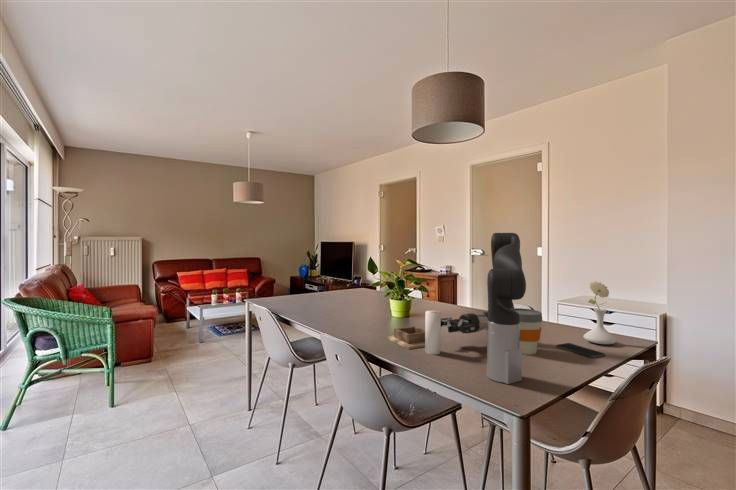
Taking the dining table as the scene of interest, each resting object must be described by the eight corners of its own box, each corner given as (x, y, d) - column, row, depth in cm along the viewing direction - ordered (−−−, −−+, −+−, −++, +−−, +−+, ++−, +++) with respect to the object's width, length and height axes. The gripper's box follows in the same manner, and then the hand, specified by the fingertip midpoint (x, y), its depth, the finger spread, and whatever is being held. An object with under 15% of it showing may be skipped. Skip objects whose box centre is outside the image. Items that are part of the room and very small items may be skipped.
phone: (591, 356, 129) (555, 344, 142) (591, 359, 129) (555, 347, 143) (606, 354, 132) (569, 342, 146) (606, 357, 132) (569, 345, 146)
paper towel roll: (443, 353, 133) (443, 312, 133) (431, 355, 131) (431, 314, 130) (434, 349, 138) (434, 309, 138) (422, 351, 136) (422, 311, 135)
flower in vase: (623, 347, 143) (624, 284, 142) (593, 346, 143) (595, 283, 143) (602, 337, 156) (603, 280, 155) (575, 337, 156) (576, 279, 156)
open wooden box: (437, 344, 144) (437, 333, 144) (408, 349, 138) (408, 337, 138) (414, 334, 159) (414, 324, 158) (387, 338, 152) (387, 327, 152)
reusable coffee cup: (545, 357, 130) (546, 315, 129) (508, 354, 132) (509, 314, 132) (536, 347, 142) (537, 309, 142) (503, 344, 144) (503, 307, 144)
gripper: (461, 309, 150) (429, 313, 142) (487, 316, 137) (454, 321, 130) (461, 327, 150) (429, 332, 142) (487, 336, 137) (453, 341, 130)
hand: (441, 326), depth 136 cm, fingers open, 8 cm apart
